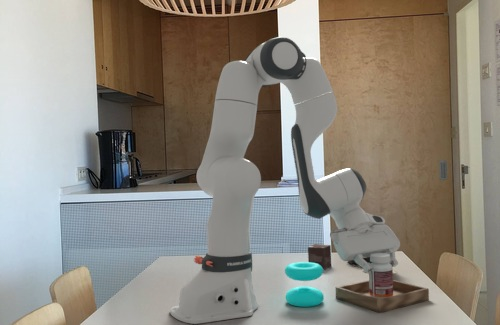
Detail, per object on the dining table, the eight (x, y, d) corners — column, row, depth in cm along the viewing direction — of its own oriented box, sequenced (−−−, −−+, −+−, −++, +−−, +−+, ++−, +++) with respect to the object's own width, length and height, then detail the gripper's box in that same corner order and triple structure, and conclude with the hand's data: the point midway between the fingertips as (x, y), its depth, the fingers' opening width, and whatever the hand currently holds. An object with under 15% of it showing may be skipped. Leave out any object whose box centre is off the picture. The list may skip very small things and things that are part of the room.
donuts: (301, 271, 132) (277, 264, 140) (302, 310, 132) (278, 301, 140) (330, 265, 137) (306, 259, 146) (331, 303, 138) (307, 295, 146)
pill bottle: (398, 297, 139) (397, 254, 139) (381, 301, 136) (380, 257, 135) (380, 292, 144) (379, 251, 144) (364, 296, 141) (363, 254, 141)
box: (331, 266, 181) (331, 245, 181) (324, 269, 176) (324, 248, 176) (315, 264, 184) (315, 243, 184) (308, 268, 179) (307, 246, 179)
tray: (379, 312, 128) (379, 300, 128) (335, 298, 142) (335, 287, 142) (428, 300, 138) (428, 288, 138) (383, 287, 152) (383, 277, 151)
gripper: (332, 223, 140) (359, 266, 132) (387, 216, 151) (415, 256, 143) (322, 238, 144) (347, 280, 136) (376, 230, 155) (402, 269, 147)
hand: (382, 267), depth 139 cm, fingers open, 8 cm apart
